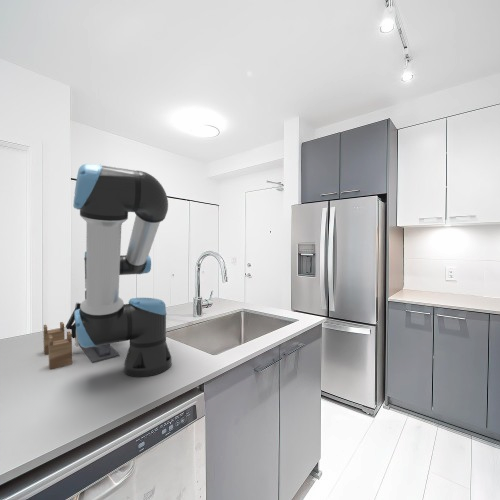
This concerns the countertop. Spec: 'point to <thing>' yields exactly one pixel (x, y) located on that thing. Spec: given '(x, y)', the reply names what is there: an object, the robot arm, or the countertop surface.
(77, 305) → the robot arm
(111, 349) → the mat
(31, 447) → the countertop surface
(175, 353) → the countertop surface
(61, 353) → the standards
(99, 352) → the rail
